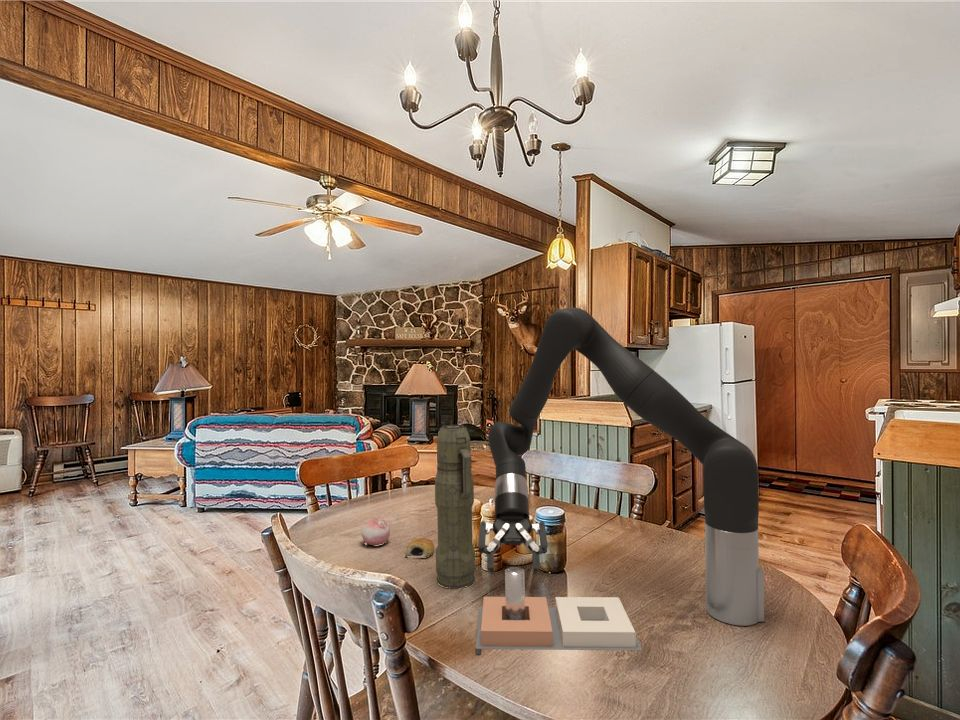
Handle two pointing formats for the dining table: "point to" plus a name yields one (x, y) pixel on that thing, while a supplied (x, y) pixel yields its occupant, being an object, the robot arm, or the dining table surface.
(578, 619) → the dock board
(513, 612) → the steel pin
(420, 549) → the pastry
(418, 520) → the dining table surface
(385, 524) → the onion
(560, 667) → the dining table surface
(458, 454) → the thermos
